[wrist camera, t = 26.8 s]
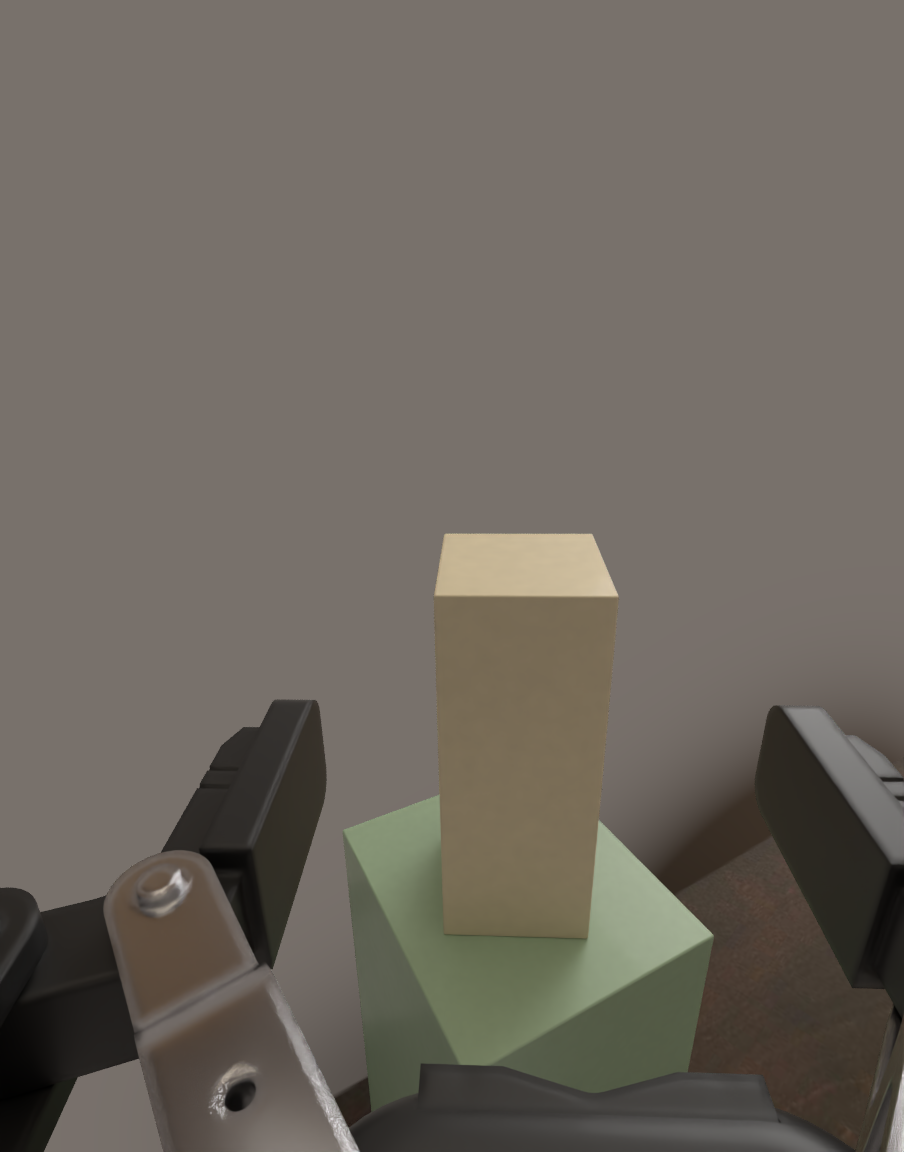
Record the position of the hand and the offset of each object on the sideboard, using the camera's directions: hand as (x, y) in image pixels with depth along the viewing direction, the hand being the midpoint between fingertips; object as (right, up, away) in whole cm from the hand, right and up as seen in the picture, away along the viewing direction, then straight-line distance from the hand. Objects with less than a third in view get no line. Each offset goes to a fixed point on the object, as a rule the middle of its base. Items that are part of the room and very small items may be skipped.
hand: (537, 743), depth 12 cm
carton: (+1, -8, +11) cm, 14 cm away
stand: (+1, -28, +20) cm, 34 cm away
